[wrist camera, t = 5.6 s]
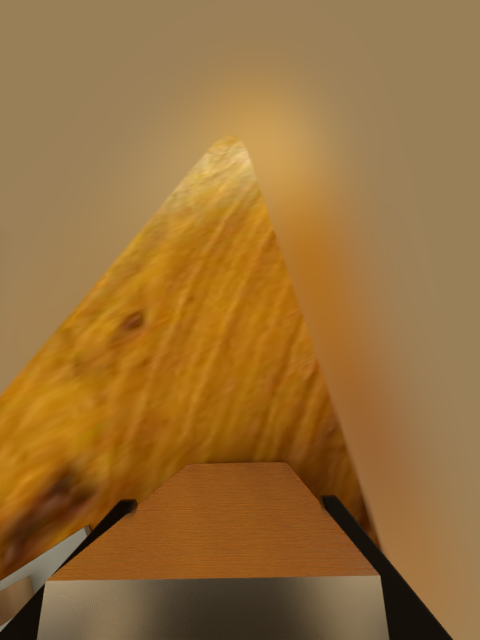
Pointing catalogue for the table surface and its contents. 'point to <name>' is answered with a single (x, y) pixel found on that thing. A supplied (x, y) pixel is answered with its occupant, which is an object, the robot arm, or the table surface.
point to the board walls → (14, 598)
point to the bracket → (219, 567)
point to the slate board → (46, 563)
